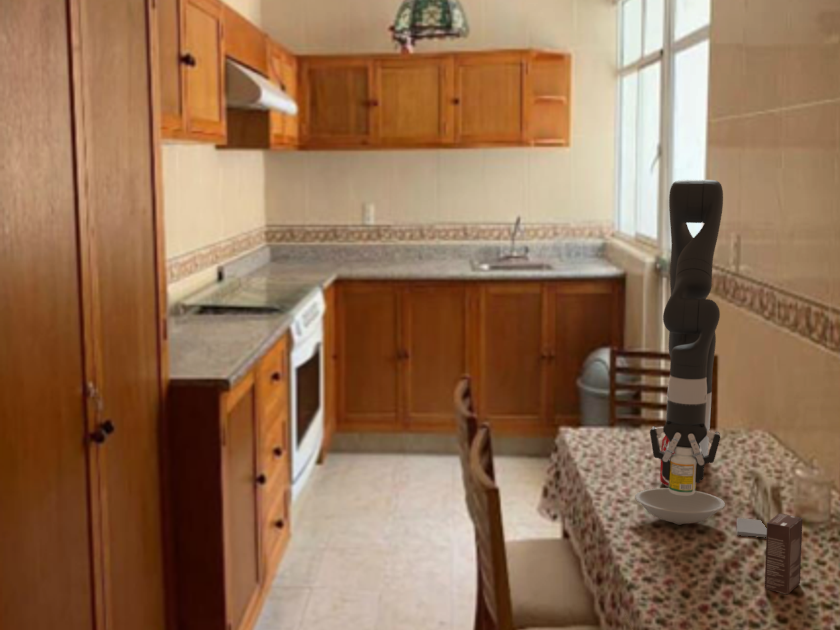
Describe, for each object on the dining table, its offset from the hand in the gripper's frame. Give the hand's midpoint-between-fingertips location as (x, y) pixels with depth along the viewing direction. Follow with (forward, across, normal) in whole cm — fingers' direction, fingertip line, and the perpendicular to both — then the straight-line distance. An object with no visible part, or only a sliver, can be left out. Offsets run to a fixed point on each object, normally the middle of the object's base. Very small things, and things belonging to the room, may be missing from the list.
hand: (682, 479), depth 199 cm
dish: (+9, 0, 0) cm, 9 cm away
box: (+9, -18, +26) cm, 33 cm away
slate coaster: (+9, -15, 0) cm, 17 cm away
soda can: (+9, +2, -24) cm, 26 cm away
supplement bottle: (+3, 0, 0) cm, 3 cm away
